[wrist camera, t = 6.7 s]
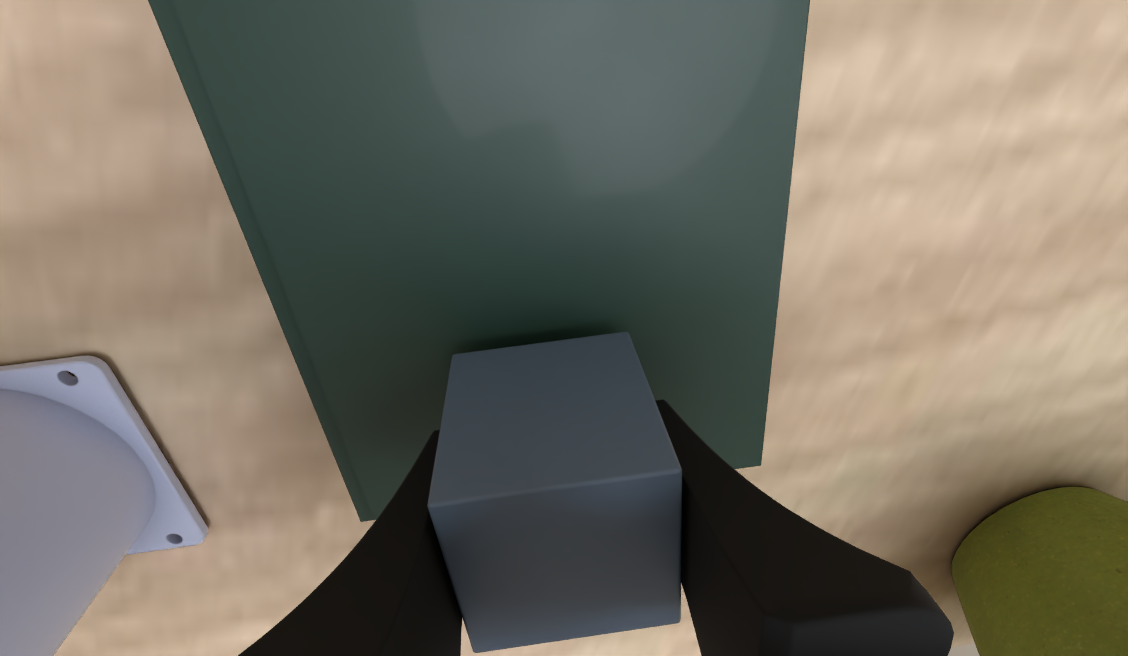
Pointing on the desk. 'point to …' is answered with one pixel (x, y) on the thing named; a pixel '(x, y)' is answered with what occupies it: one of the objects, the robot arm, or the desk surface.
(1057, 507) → the flower pot
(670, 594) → the slate block
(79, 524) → the robot arm
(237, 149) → the book
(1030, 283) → the desk surface
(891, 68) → the desk surface
